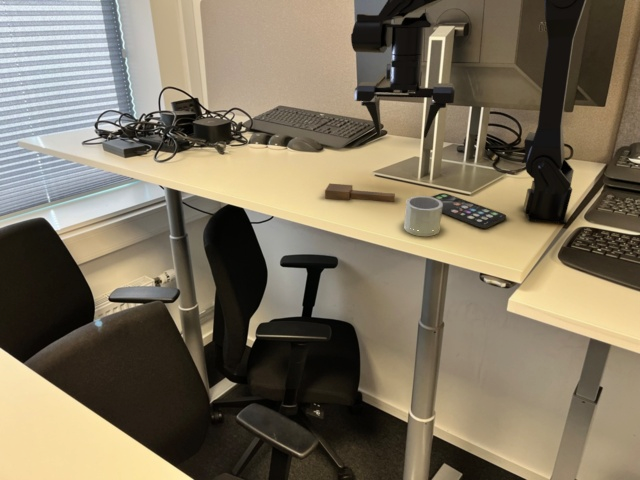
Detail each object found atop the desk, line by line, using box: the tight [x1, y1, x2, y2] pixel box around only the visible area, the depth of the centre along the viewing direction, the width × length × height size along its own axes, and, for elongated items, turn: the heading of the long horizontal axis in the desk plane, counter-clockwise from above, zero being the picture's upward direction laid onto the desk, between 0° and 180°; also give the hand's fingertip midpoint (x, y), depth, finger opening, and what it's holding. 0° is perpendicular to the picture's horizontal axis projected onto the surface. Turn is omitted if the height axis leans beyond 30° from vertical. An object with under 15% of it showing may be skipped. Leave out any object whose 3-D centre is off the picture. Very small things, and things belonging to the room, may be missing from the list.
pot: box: [403, 195, 443, 237], centre depth 82 cm, size 6×6×5 cm
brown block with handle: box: [324, 182, 396, 203], centre depth 96 cm, size 14×4×2 cm, turn 76°
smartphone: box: [431, 192, 507, 229], centre depth 89 cm, size 7×1×15 cm
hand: (401, 136), depth 94 cm, fingers open, 9 cm apart
